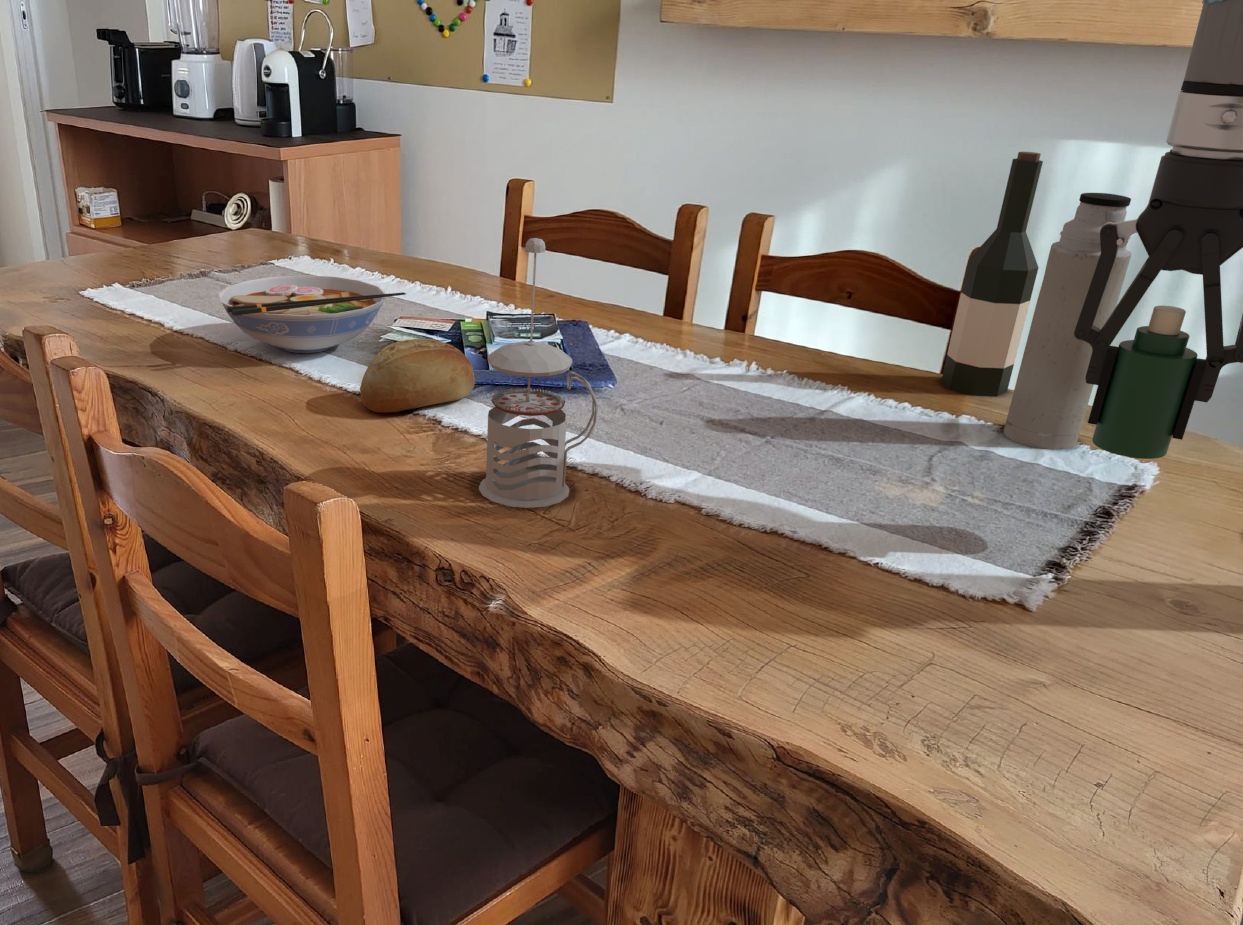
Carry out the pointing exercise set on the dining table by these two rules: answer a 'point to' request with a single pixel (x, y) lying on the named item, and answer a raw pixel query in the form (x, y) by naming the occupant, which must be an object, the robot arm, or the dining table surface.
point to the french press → (529, 423)
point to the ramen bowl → (303, 310)
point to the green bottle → (1147, 388)
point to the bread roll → (416, 376)
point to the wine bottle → (996, 293)
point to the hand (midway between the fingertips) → (1134, 426)
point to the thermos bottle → (1065, 330)
